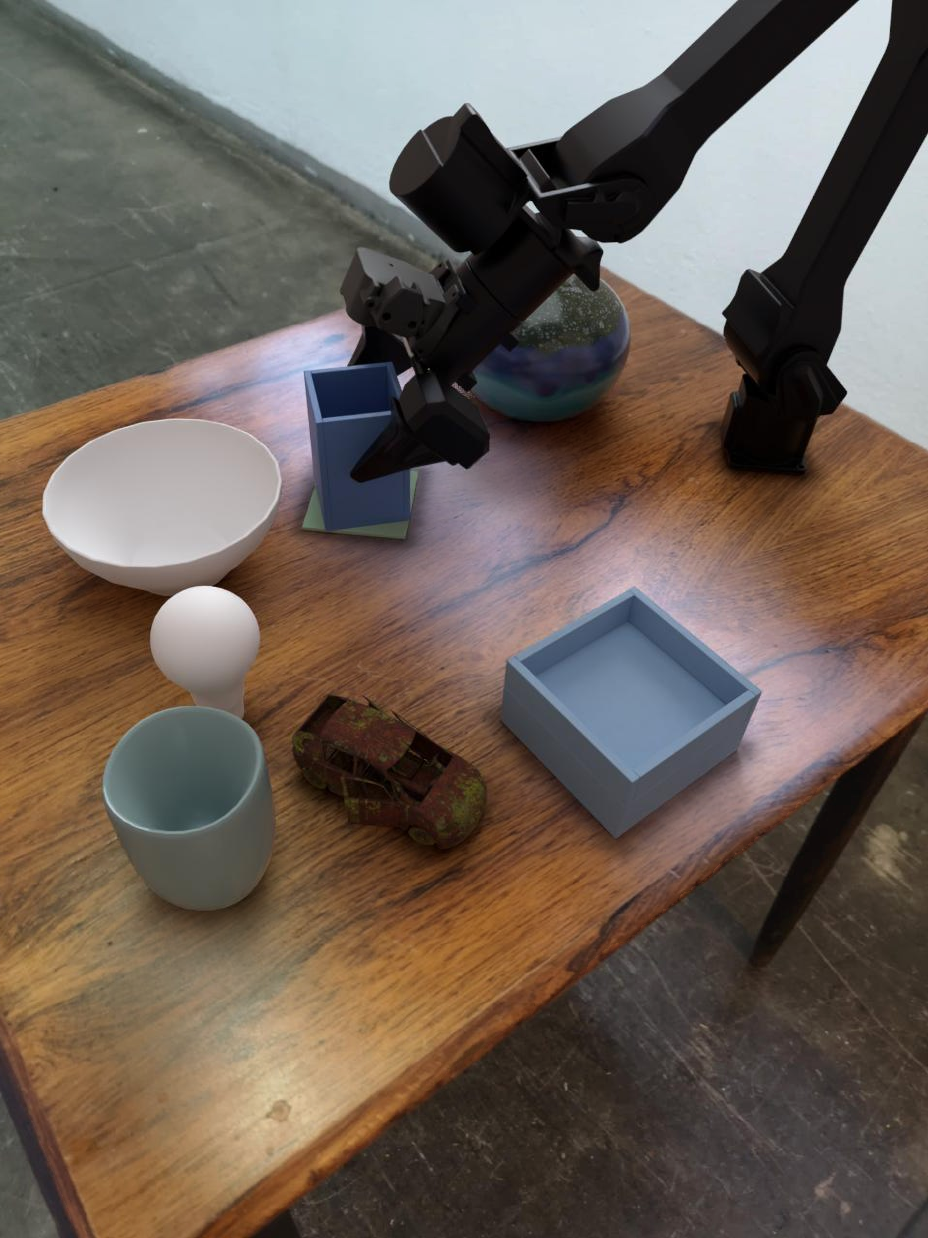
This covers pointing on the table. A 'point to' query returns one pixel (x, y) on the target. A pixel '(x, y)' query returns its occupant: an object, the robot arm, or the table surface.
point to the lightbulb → (207, 645)
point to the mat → (386, 530)
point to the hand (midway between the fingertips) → (344, 440)
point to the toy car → (389, 772)
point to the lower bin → (626, 708)
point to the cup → (192, 805)
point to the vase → (559, 356)
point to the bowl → (164, 503)
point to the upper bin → (353, 444)
